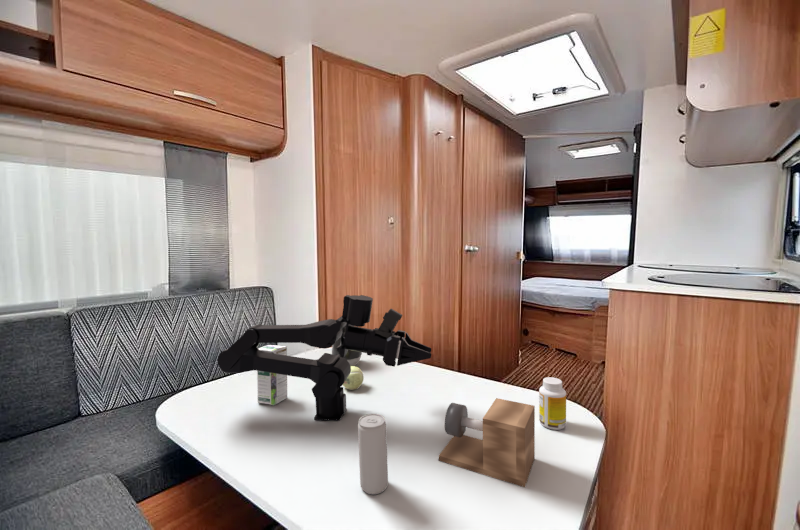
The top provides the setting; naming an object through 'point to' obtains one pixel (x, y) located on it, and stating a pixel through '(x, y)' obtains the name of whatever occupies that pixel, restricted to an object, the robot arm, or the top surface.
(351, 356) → the dark grey ovoid
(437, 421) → the top surface
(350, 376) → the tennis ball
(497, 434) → the mount
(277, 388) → the syrup box
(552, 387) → the supplement bottle
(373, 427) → the beverage can
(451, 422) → the knob
